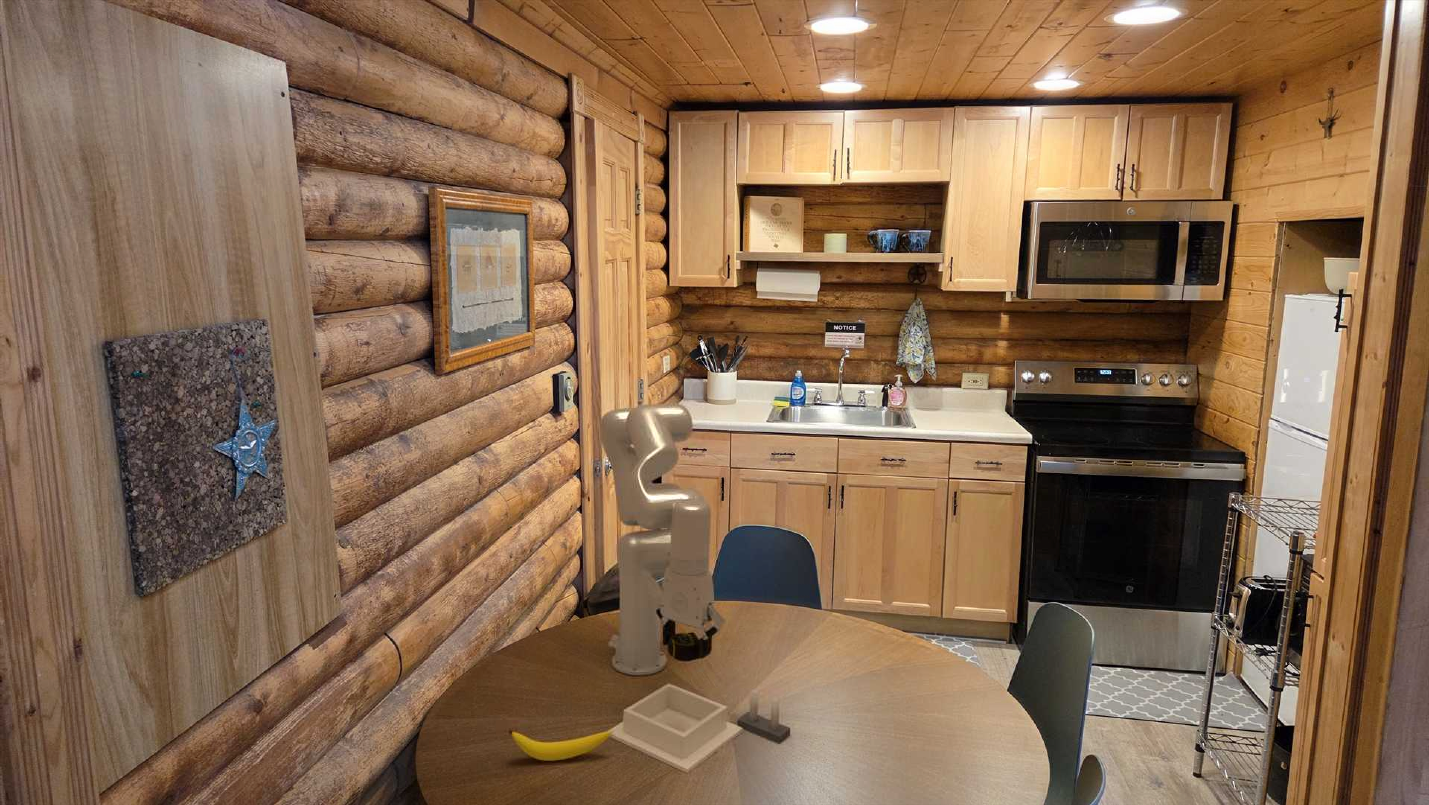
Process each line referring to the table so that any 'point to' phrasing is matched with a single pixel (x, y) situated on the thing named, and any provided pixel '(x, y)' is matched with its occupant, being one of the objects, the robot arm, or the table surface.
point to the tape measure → (684, 646)
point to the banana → (559, 746)
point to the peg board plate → (764, 721)
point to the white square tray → (676, 727)
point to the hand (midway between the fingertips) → (686, 648)
